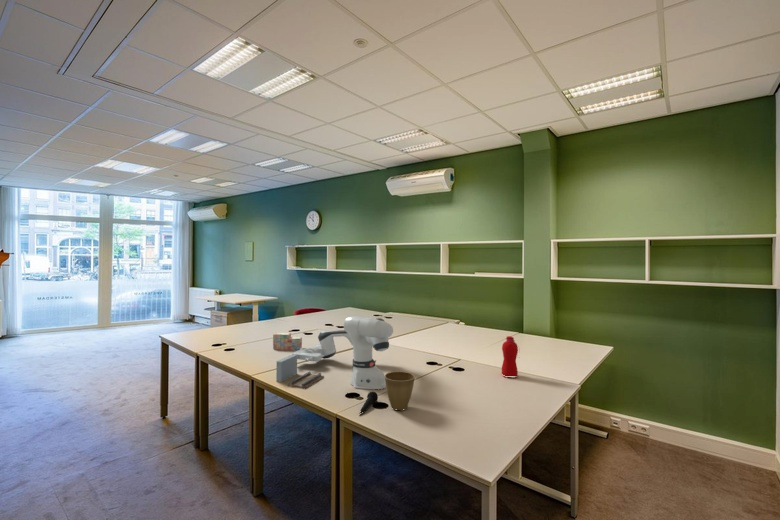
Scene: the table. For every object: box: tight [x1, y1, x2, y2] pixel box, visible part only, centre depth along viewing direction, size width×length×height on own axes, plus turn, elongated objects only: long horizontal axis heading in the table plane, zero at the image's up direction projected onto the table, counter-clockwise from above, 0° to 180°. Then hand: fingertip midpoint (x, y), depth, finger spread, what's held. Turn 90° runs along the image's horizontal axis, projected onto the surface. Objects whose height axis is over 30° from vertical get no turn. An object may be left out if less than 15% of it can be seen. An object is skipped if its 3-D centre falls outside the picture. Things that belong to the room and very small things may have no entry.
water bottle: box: [501, 336, 519, 377], centre depth 230 cm, size 9×11×25 cm
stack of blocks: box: [272, 332, 303, 351], centre depth 289 cm, size 21×6×12 cm, turn 85°
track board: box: [287, 371, 325, 389], centre depth 217 cm, size 12×20×2 cm, turn 160°
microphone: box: [359, 391, 379, 414], centre depth 181 cm, size 6×6×20 cm
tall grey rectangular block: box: [275, 354, 298, 383], centre depth 224 cm, size 4×16×12 cm, turn 160°
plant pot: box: [384, 371, 415, 411], centre depth 181 cm, size 15×15×16 cm
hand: (300, 359), depth 237 cm, fingers open, 8 cm apart
